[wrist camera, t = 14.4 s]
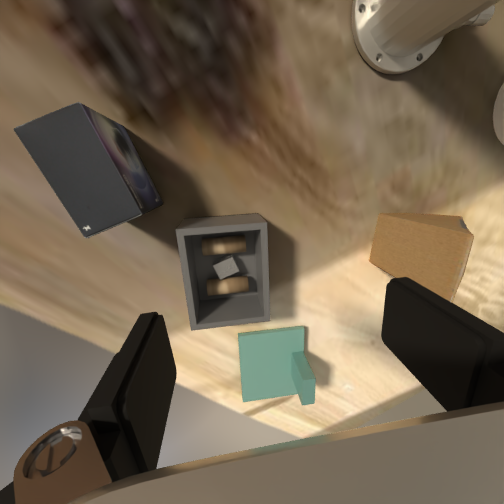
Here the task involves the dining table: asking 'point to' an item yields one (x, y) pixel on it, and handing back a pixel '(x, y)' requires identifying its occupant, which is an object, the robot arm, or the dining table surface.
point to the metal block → (225, 266)
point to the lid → (275, 365)
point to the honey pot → (499, 115)
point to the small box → (90, 167)
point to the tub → (249, 263)
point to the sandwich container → (423, 249)
